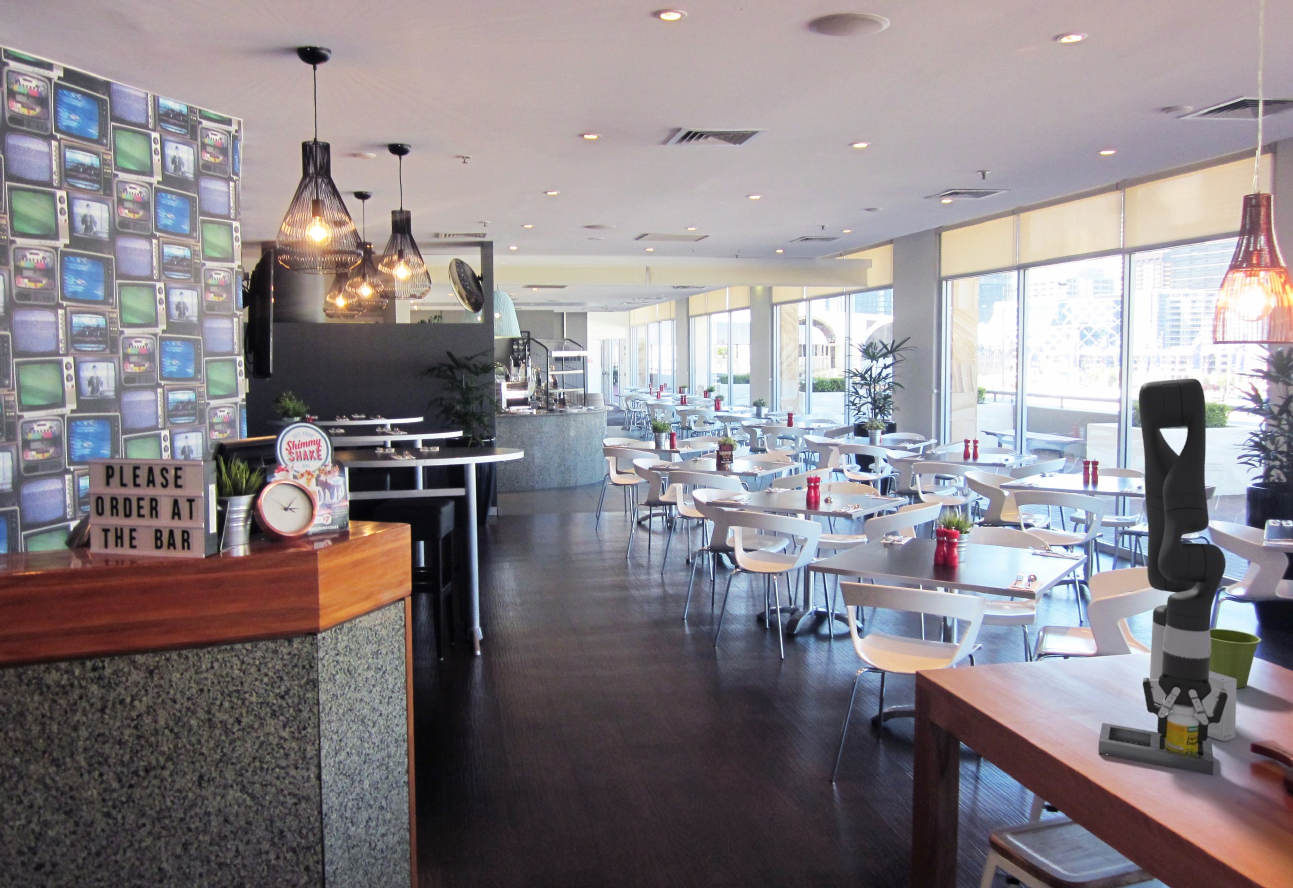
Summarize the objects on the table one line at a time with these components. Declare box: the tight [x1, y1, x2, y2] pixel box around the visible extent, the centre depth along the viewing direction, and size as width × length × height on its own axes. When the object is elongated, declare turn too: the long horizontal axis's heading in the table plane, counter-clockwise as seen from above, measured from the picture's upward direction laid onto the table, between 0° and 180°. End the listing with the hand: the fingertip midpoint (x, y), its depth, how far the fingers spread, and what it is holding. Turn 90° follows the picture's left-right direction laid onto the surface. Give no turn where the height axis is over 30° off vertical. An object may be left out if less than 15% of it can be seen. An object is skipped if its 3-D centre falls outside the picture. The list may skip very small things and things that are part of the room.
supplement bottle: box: [1164, 703, 1199, 756], centre depth 173 cm, size 5×5×10 cm
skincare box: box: [1195, 671, 1237, 742], centre depth 184 cm, size 6×4×12 cm
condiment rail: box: [1097, 722, 1214, 776], centre depth 175 cm, size 10×18×2 cm, turn 61°
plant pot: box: [1209, 628, 1262, 689], centre depth 213 cm, size 12×12×11 cm
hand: (1181, 738), depth 173 cm, fingers closed on supplement bottle, 5 cm apart
